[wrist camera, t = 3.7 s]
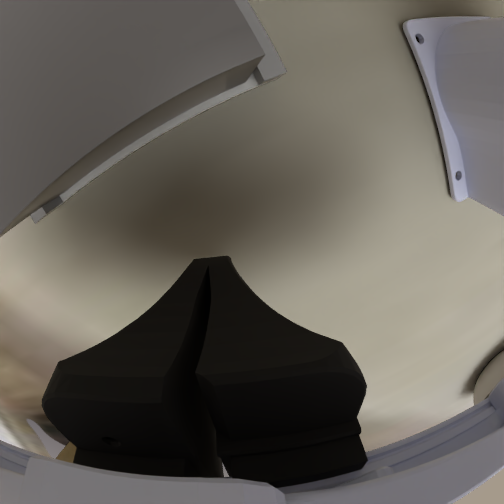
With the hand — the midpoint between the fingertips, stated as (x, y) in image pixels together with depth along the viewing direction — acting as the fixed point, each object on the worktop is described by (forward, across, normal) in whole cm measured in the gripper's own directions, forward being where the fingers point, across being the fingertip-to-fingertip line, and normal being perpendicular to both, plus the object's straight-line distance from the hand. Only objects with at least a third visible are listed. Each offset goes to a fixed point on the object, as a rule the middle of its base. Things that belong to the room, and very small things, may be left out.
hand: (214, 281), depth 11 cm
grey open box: (+2, +3, -8) cm, 9 cm away
